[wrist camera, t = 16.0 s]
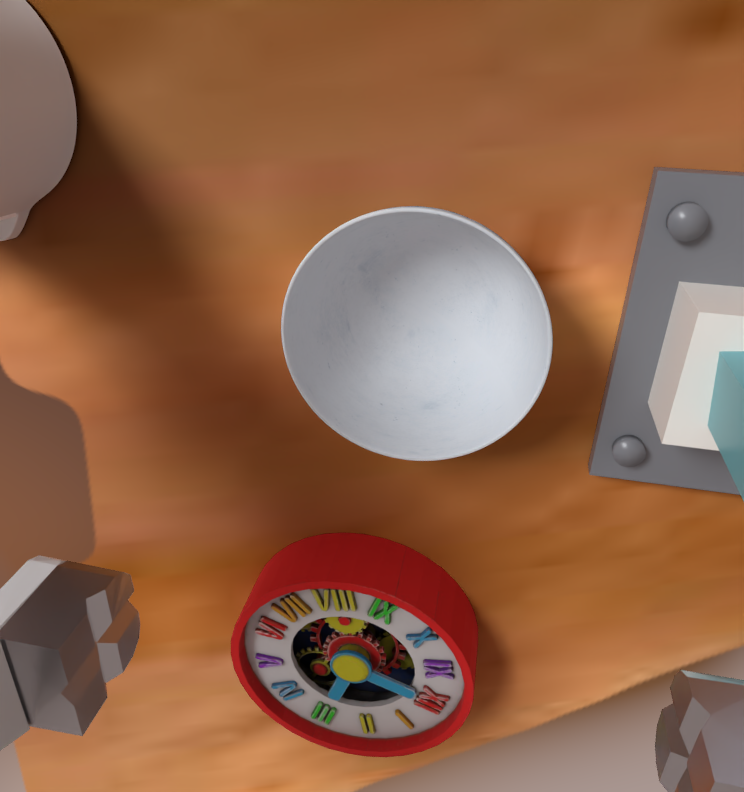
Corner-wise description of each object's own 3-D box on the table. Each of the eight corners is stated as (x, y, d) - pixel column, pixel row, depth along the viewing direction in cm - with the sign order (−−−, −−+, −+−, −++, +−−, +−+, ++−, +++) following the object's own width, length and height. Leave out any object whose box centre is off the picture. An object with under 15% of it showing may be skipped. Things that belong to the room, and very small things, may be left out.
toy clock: (269, 541, 48) (519, 652, 49) (293, 493, 53) (520, 594, 54) (205, 696, 58) (414, 787, 59) (231, 643, 63) (422, 727, 64)
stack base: (588, 464, 47) (596, 520, 41) (654, 166, 37) (676, 188, 32) (788, 491, 45) (824, 553, 39) (913, 183, 35) (984, 209, 30)
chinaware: (461, 126, 38) (448, 144, 31) (592, 332, 42) (606, 387, 35) (272, 267, 44) (228, 308, 38) (402, 434, 48) (383, 498, 42)
